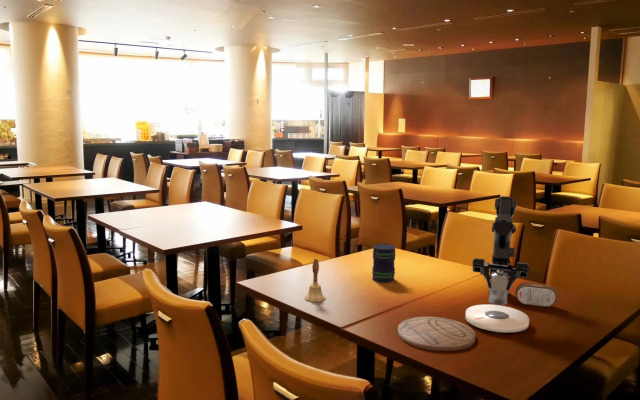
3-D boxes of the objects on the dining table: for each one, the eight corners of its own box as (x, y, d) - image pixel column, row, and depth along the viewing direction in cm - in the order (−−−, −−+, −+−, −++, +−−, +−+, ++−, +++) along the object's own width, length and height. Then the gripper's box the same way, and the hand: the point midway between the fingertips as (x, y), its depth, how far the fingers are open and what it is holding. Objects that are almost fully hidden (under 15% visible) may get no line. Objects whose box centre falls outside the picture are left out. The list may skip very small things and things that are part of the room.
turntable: (498, 306, 199) (498, 301, 198) (542, 326, 180) (542, 320, 180) (453, 314, 190) (453, 309, 190) (494, 336, 171) (495, 330, 171)
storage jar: (398, 278, 235) (399, 245, 233) (388, 284, 227) (389, 250, 225) (378, 274, 241) (379, 242, 238) (368, 280, 232) (369, 247, 230)
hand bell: (307, 294, 213) (307, 255, 211) (327, 296, 211) (328, 257, 209) (302, 301, 205) (302, 261, 203) (323, 303, 203) (323, 262, 201)
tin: (556, 306, 203) (558, 285, 201) (557, 309, 200) (559, 287, 198) (514, 301, 207) (516, 281, 206) (514, 304, 204) (516, 283, 203)
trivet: (425, 358, 158) (426, 352, 158) (383, 327, 181) (383, 322, 181) (491, 345, 168) (492, 339, 168) (443, 317, 191) (444, 312, 190)
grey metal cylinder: (500, 298, 188) (502, 267, 186) (510, 304, 182) (512, 272, 180) (485, 299, 186) (487, 268, 184) (494, 305, 181) (497, 273, 179)
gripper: (474, 236, 187) (470, 274, 179) (531, 240, 181) (529, 281, 173) (474, 252, 196) (470, 289, 188) (528, 257, 190) (527, 296, 181)
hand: (498, 289), depth 182 cm, fingers closed on grey metal cylinder, 6 cm apart
